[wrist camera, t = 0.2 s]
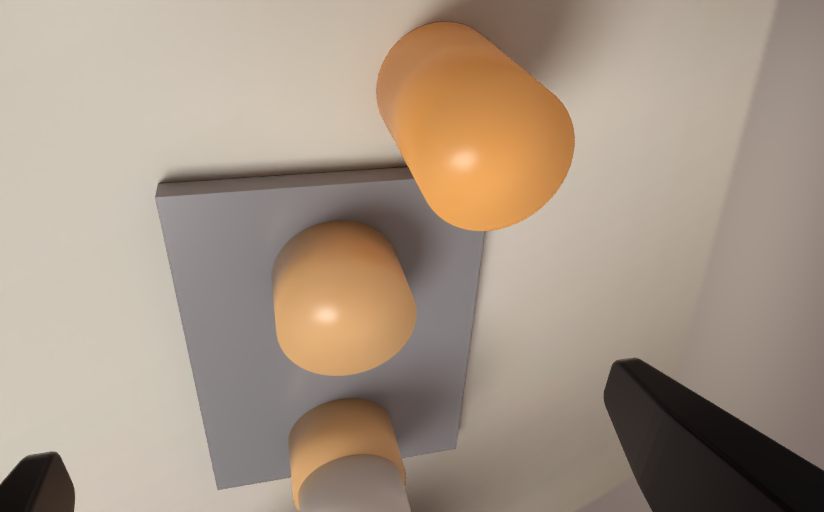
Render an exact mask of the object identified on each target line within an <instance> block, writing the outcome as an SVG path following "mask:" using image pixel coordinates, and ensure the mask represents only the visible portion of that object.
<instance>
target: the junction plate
mask: <svg viewBox="0 0 824 512" xmlns="http://www.w3.org/2000/svg"><path fill="white" fill-rule="evenodd" d="M155 199H156V203H157V208H158V213H159V217H160V222H161V227H162V231H163V236H164V241H165V245H166V250H167V255H168V260H169V264H170V269H171V274H172V278H173V283H174V288H175V292H176V297H177V302H178V306H179V311H180V316H181V321H182V325H183V330H184V335H185V339H186V344H187V349H188V353H189V358H190V363H191V367H192V372H193V377H194V381H195V386H196V391H197V396H198V400H199V405H200V410H201V414H202V419H203V424H204V428H205V433H206V438H207V442H208V447H209V452H210V457H211V461H212V466H213V471H214V475H215V480H216V485H217V489H218V490H221V489H227V488H232V487H238V486H244V485H250V484H255V483H261V482H267V481H273V480H278V479H284V478H290V477H291V480H292V490H293V500H294V504H295V506H296V508H297V510H298V511H299V512H411V509H410V506H409V502H408V498H407V494H406V491H405V487H404V486H405V482H406V473H405V469H404V466H403V462H402V458H405V457H411V456H417V455H422V454H428V453H434V452H440V451H445V450H451V449H456V444H457V437H458V429H459V421H460V414H461V406H462V399H463V391H464V384H465V376H466V368H467V361H468V353H469V346H470V338H471V331H472V323H473V315H474V308H475V300H476V293H477V285H478V278H479V270H480V262H481V255H482V247H483V240H484V232H485V231H472V230H466V229H462V228H459V227H456V226H453V225H451V224H450V223H448V222H446V221H444V220H443V219H442V218H440V217H439V216H438V215H437V214H436V213H435V212H434V211H433V210H432V209H431V207H430V206H429V205H428V203H427V202H426V200H425V198H424V196H423V194H422V192H421V190H420V188H419V186H418V184H417V183H416V181H415V179H414V177H413V175H412V173H411V171H410V169H409V167H401V168H386V169H371V170H356V171H341V172H326V173H311V174H296V175H281V176H266V177H251V178H236V179H221V180H206V181H191V182H175V183H160V184H158V186H157V191H156V196H155Z"/></svg>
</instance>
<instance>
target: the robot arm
mask: <svg viewBox="0 0 824 512" xmlns="http://www.w3.org/2000/svg"><path fill="white" fill-rule="evenodd" d="M604 402H605V406H606V409H607V411H608V413H609V416H610V418H611V421H612V423H613V426H614V428H615V430H616V433H617V435H618V438H619V440H620V443H621V445H622V447H623V450H624V452H625V455H626V457H627V459H628V462H629V464H630V467H631V469H632V471H633V474H634V476H635V478H636V480H637V483H638V485H639V486H640V489H641V490H642V493H643V494H644V496H645V498H646V500H647V502H648V504H649V506H650V507H651V509H652V511H653V512H824V470H822V469H820V468H819V467H817V466H815V465H814V464H812V463H810V462H809V461H807V460H805V459H804V458H802V457H800V456H799V455H797V454H795V453H794V452H792V451H791V450H789V449H787V448H785V447H784V446H782V445H781V444H779V443H777V442H776V441H774V440H772V439H771V438H769V437H767V436H766V435H764V434H763V433H761V432H759V431H758V430H756V429H754V428H753V427H751V426H749V425H748V424H746V423H744V422H743V421H741V420H739V419H738V418H736V417H734V416H733V415H731V414H730V413H728V412H726V411H724V410H723V409H721V408H720V407H718V406H716V405H715V404H713V403H711V402H710V401H708V400H706V399H704V398H703V397H701V396H700V395H698V394H697V393H695V392H693V391H692V390H690V389H688V388H686V387H685V386H683V385H682V384H680V383H678V382H677V381H675V380H673V379H672V378H670V377H669V376H667V375H665V374H664V373H662V372H660V371H659V370H657V369H655V368H654V367H652V366H650V365H649V364H647V363H645V362H644V361H642V360H640V359H638V358H628V359H622V360H617V361H615V362H614V363H613V364H612V367H611V370H610V373H609V377H608V380H607V383H606V387H605V390H604ZM74 506H75V491H74V486H73V483H72V481H71V479H70V476H69V474H68V472H67V470H66V467H65V465H64V463H63V461H62V459H61V457H60V455H59V454H58V453H57V452H46V453H39V454H33V455H29V456H26V457H25V458H23V459H22V460H21V461H20V462H19V463H18V464H17V465H16V467H15V468H14V469H13V470H12V471H11V472H10V474H9V475H8V476H7V477H6V478H5V479H4V480H3V482H2V483H1V484H0V512H74Z"/></svg>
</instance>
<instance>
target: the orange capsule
mask: <svg viewBox="0 0 824 512" xmlns="http://www.w3.org/2000/svg"><path fill="white" fill-rule="evenodd" d="M376 95H377V103H378V108H379V111H380V114H381V116H382V118H383V120H384V122H385V124H386V126H387V128H388V130H389V132H390V133H391V135H392V137H393V139H394V141H395V143H396V145H397V147H398V149H399V150H400V152H401V154H402V156H403V158H404V160H405V162H406V164H407V166H408V167H409V169H410V171H411V173H412V175H413V177H414V179H415V181H416V183H417V184H418V186H419V188H420V190H421V192H422V194H423V196H424V198H425V200H426V202H427V203H428V205H429V206H430V207H431V209H432V210H433V211H434V212H435V213H436V214H437V215H438V216H439V217H440V218H442V219H443V220H444V221H446V222H448V223H450V224H451V225H453V226H456V227H459V228H462V229H466V230H472V231H491V230H497V229H501V228H505V227H508V226H511V225H514V224H516V223H518V222H520V221H522V220H524V219H526V218H528V217H529V216H531V215H532V214H534V213H535V212H537V211H538V210H539V209H540V208H542V207H543V206H544V205H545V204H546V203H547V202H548V201H549V200H550V199H551V198H552V196H553V195H554V194H555V193H556V192H557V190H558V189H559V187H560V186H561V184H562V183H563V181H564V179H565V177H566V175H567V173H568V170H569V168H570V166H571V162H572V158H573V153H574V145H575V136H574V128H573V124H572V121H571V118H570V116H569V113H568V111H567V109H566V108H565V106H564V105H563V103H562V102H561V101H560V100H559V99H558V98H557V97H556V96H555V95H554V94H553V93H552V92H550V91H549V90H548V89H547V88H546V87H544V86H543V85H542V84H541V83H539V82H538V81H537V80H536V79H535V78H533V77H532V76H531V75H530V74H529V73H527V72H526V71H525V70H524V69H522V68H521V67H520V66H519V65H518V64H516V63H515V62H514V61H513V60H512V59H510V58H509V57H508V56H507V55H506V54H504V53H503V52H502V51H501V50H499V49H498V48H497V47H496V46H495V45H493V44H492V43H491V42H490V41H489V40H487V39H486V38H485V37H484V36H482V35H481V34H480V33H479V32H477V31H476V30H474V29H472V28H471V27H469V26H466V25H463V24H460V23H455V22H435V23H430V24H426V25H424V26H421V27H418V28H417V29H415V30H413V31H411V32H409V33H408V34H407V35H405V36H404V37H403V38H401V39H400V40H399V41H398V42H397V43H396V44H395V45H394V47H393V48H392V49H391V50H390V52H389V53H388V55H387V56H386V58H385V60H384V62H383V64H382V66H381V69H380V72H379V75H378V80H377V88H376Z"/></svg>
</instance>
